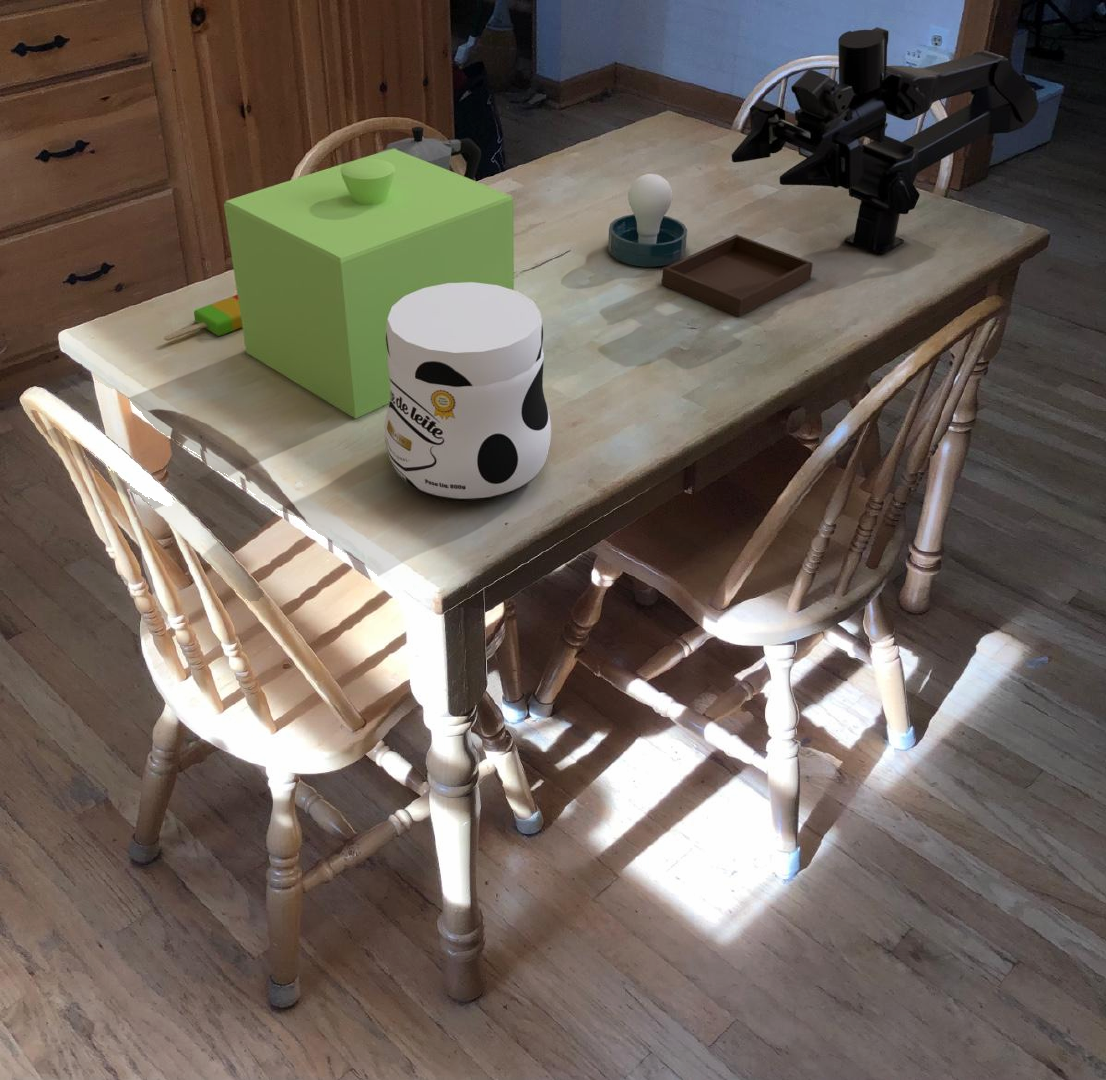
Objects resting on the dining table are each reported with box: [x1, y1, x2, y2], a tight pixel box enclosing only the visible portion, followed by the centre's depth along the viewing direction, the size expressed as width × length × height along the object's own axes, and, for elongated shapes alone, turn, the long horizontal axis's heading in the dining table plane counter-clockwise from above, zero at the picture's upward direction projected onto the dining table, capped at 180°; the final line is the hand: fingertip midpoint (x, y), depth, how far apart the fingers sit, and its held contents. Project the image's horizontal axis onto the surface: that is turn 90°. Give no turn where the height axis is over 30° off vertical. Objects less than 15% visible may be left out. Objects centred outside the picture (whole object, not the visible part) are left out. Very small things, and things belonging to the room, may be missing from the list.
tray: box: [661, 234, 814, 318], centre depth 167 cm, size 16×13×2 cm
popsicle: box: [163, 294, 243, 342], centre depth 155 cm, size 6×15×2 cm, turn 135°
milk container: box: [384, 282, 552, 502], centre depth 125 cm, size 17×17×18 cm
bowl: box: [607, 213, 688, 268], centre depth 174 cm, size 11×11×4 cm
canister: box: [223, 149, 515, 419], centre depth 144 cm, size 25×21×23 cm
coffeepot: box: [376, 126, 482, 181], centre depth 168 cm, size 15×9×18 cm, turn 113°
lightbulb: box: [627, 173, 673, 244], centre depth 171 cm, size 6×6×11 cm
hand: (756, 169), depth 157 cm, fingers open, 9 cm apart
